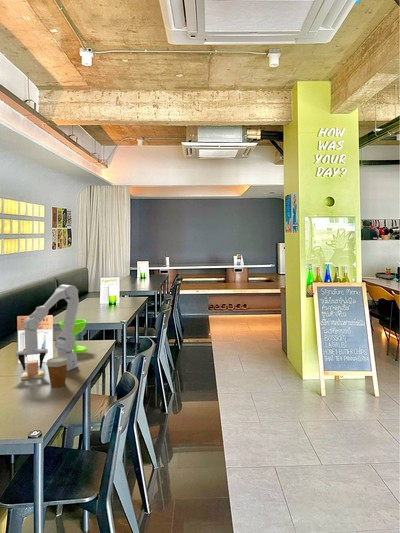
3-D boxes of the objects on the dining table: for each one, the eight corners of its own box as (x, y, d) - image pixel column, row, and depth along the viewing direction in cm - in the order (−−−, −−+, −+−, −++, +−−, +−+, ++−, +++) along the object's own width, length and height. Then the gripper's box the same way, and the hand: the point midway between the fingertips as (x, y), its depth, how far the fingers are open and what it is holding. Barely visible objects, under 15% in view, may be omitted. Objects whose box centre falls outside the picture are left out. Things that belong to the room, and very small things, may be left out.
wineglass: (76, 345, 260) (75, 318, 259) (92, 349, 250) (91, 320, 249) (54, 351, 247) (53, 322, 246) (71, 355, 238) (69, 325, 236)
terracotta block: (38, 371, 204) (37, 359, 204) (37, 374, 200) (36, 362, 199) (28, 372, 203) (28, 360, 203) (27, 375, 199) (26, 363, 198)
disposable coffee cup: (72, 382, 191) (71, 357, 191) (59, 389, 182) (58, 363, 182) (56, 380, 195) (55, 356, 194) (42, 387, 186) (41, 361, 185)
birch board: (44, 373, 206) (44, 370, 206) (42, 377, 199) (42, 374, 199) (23, 375, 203) (23, 372, 203) (21, 379, 196) (20, 376, 196)
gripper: (14, 345, 194) (15, 372, 195) (46, 342, 198) (47, 369, 199) (16, 341, 201) (17, 368, 202) (47, 339, 205) (48, 365, 206)
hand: (32, 368), depth 201 cm, fingers open, 7 cm apart
